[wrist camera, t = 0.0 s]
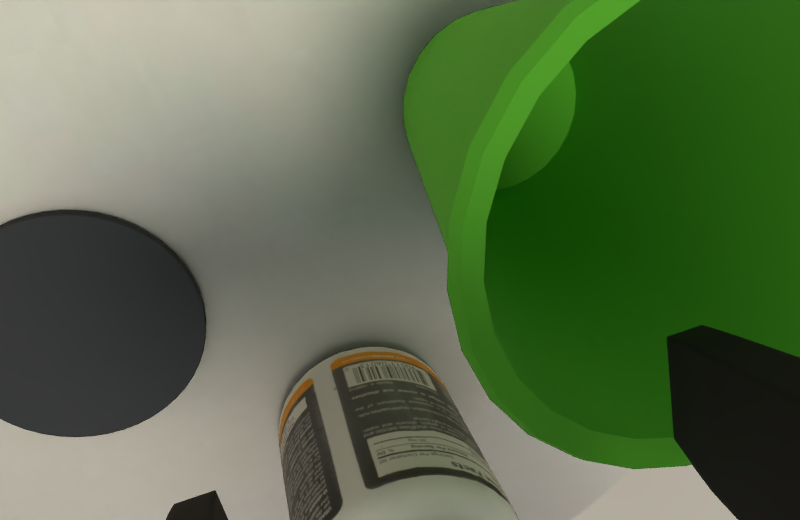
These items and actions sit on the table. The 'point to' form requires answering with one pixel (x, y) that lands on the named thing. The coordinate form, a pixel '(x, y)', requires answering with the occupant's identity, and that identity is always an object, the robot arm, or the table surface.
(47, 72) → the table surface
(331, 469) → the pill bottle
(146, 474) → the table surface
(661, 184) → the cup
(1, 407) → the coaster
